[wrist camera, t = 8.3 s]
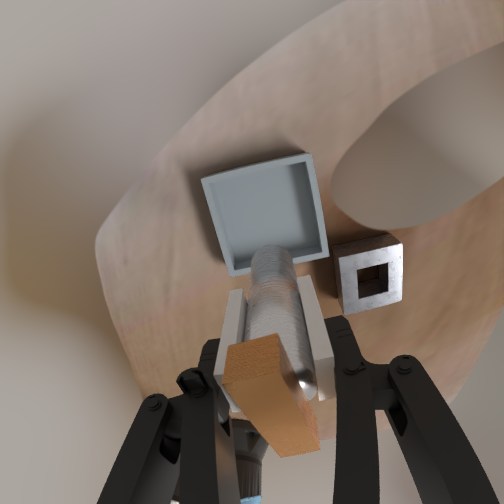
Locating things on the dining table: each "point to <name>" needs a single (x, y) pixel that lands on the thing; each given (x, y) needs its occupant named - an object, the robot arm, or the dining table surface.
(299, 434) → the t key
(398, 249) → the block
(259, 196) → the tray
